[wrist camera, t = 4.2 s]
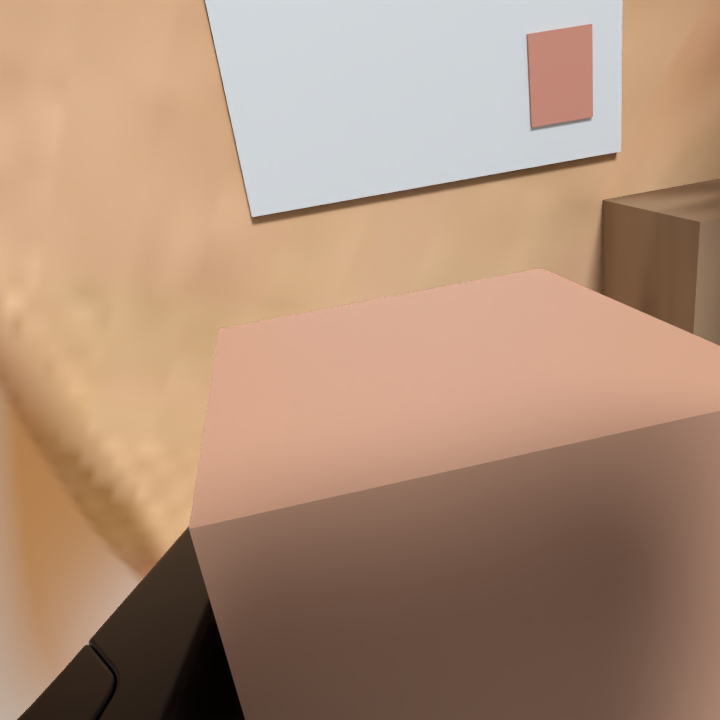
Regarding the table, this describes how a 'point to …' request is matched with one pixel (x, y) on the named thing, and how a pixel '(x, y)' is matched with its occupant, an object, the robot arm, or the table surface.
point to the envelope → (412, 91)
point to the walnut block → (666, 255)
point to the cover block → (465, 508)
